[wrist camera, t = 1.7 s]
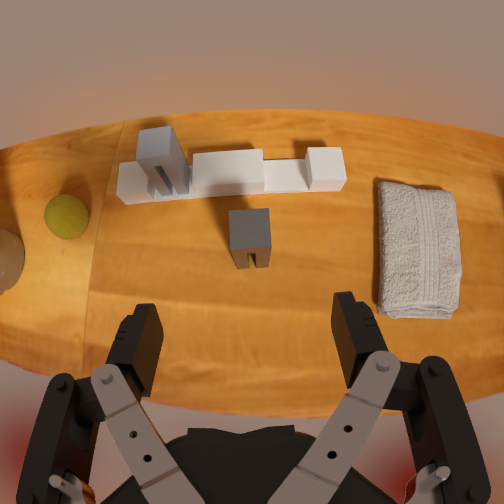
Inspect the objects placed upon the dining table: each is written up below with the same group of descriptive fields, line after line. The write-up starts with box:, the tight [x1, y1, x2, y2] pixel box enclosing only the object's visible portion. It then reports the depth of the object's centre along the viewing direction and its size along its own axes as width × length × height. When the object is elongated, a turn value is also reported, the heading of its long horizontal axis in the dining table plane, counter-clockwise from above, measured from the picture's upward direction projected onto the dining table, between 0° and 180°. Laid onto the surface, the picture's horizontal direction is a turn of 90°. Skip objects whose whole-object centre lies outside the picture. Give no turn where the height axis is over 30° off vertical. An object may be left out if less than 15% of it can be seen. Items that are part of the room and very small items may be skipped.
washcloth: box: [377, 182, 462, 320], centre depth 37 cm, size 12×18×3 cm, turn 176°
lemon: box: [44, 194, 89, 240], centre depth 35 cm, size 6×6×8 cm
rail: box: [116, 126, 347, 205], centre depth 35 cm, size 28×4×10 cm, turn 93°
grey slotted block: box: [229, 208, 271, 269], centre depth 33 cm, size 4×4×10 cm
